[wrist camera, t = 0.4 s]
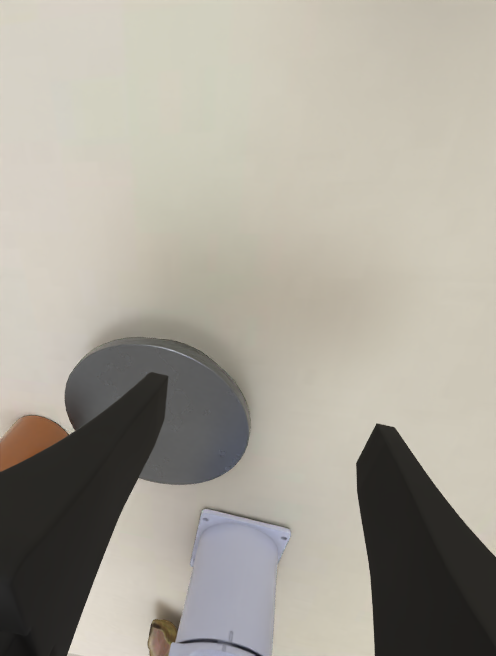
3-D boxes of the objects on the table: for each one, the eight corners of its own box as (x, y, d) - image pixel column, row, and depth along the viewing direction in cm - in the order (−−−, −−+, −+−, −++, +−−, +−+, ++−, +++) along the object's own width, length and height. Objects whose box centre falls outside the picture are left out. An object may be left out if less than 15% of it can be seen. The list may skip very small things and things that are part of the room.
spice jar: (73, 462, 32) (0, 576, 24) (18, 449, 32) (-73, 558, 24) (70, 422, 29) (-13, 535, 21) (10, 408, 29) (-95, 515, 22)
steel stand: (237, 466, 29) (231, 501, 27) (89, 431, 29) (69, 462, 27) (272, 343, 23) (268, 372, 20) (84, 298, 23) (57, 322, 21)
